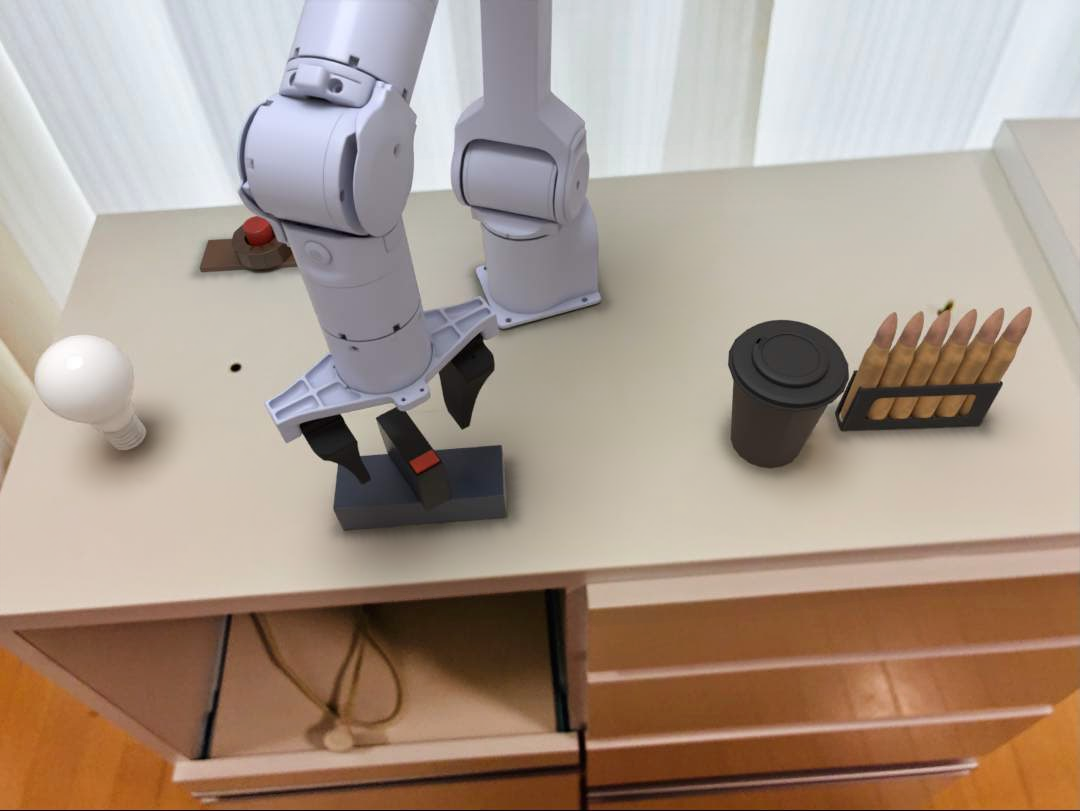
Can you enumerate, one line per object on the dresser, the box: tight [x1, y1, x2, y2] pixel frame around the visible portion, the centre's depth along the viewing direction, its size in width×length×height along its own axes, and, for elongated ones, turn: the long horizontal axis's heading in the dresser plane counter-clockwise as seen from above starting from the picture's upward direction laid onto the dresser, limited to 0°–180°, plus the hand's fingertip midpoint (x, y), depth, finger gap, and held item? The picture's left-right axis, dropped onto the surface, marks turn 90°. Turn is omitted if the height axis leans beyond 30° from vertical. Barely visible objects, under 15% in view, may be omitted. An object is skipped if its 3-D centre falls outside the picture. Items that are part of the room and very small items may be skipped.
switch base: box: [332, 444, 508, 531], centre depth 60 cm, size 12×4×3 cm, turn 94°
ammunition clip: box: [834, 306, 1033, 432], centre depth 59 cm, size 11×2×12 cm, turn 91°
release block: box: [199, 224, 298, 273], centre depth 78 cm, size 12×5×2 cm, turn 92°
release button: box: [242, 215, 274, 246], centre depth 77 cm, size 2×2×2 cm
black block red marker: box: [375, 406, 452, 512], centre depth 57 cm, size 6×2×5 cm, turn 34°
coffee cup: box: [727, 319, 850, 469], centre depth 59 cm, size 8×8×10 cm
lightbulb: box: [33, 334, 147, 451], centre depth 62 cm, size 6×6×11 cm
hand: (410, 444), depth 56 cm, fingers open, 7 cm apart
